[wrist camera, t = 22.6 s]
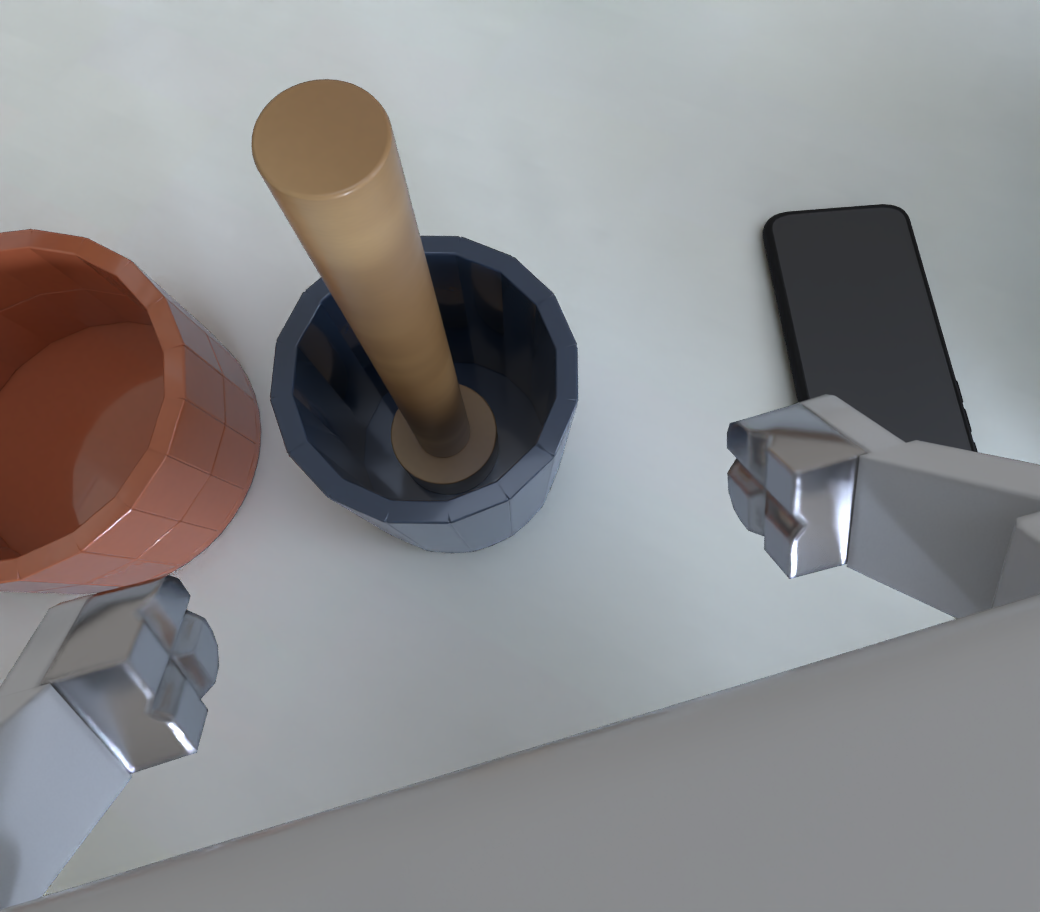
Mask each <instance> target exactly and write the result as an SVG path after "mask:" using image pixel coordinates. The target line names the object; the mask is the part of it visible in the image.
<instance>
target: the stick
mask: <svg viewBox="0 0 1040 912" xmlns="http://www.w3.org/2000/svg"><path fill="white" fill-rule="evenodd" d="M252 155H253V159H254V162H255V165H256V167H257V169H258V171H259V173H260V174H261V176H262V178H263V179H264V181H265V183H266V184H267V186H268V188H269V190H270V191H271V193H272V195H273V196H274V198H275V200H276V201H277V203H278V205H279V206H280V208H281V210H282V212H283V213H284V215H285V217H286V218H287V220H288V222H289V223H290V225H291V227H292V228H293V230H294V232H295V234H296V235H297V237H298V239H299V240H300V242H301V244H302V245H303V247H304V249H305V251H306V252H307V254H308V256H309V257H310V259H311V261H312V262H313V264H314V266H315V267H316V269H317V271H318V273H319V274H320V276H321V278H322V279H323V281H324V283H325V284H326V286H327V288H328V289H329V291H330V293H331V295H332V296H333V298H334V300H335V301H336V303H337V305H338V306H339V308H340V310H341V311H342V313H343V315H344V317H345V318H346V320H347V322H348V323H349V325H350V327H351V328H352V330H353V332H354V334H355V335H356V337H357V339H358V340H359V342H360V344H361V345H362V347H363V349H364V350H365V352H366V354H367V356H368V357H369V359H370V361H371V362H372V364H373V366H374V367H375V369H376V371H377V372H378V374H379V376H380V378H381V379H382V381H383V383H384V384H385V386H386V388H387V389H388V391H389V393H390V395H391V396H392V398H393V400H394V401H395V403H396V405H397V406H398V410H397V412H396V414H395V416H394V419H393V422H392V427H391V443H392V447H393V451H394V453H395V456H396V458H397V459H398V461H399V463H400V464H401V465H402V467H403V468H404V469H405V470H406V471H407V473H408V474H409V475H410V476H411V478H412V479H413V480H414V481H415V482H416V483H417V484H419V485H420V486H422V487H423V488H425V489H427V490H429V491H432V492H435V493H440V494H457V493H462V492H465V491H468V490H470V489H472V488H474V487H475V486H477V485H478V484H480V483H481V482H482V481H483V480H484V479H485V478H486V477H487V476H488V475H489V473H490V472H491V470H492V468H493V467H494V465H495V462H496V459H497V455H498V447H499V446H498V434H497V426H496V420H495V417H494V414H493V412H492V410H491V408H490V406H489V405H488V403H487V402H486V401H485V400H484V399H483V397H482V396H480V395H479V394H478V393H477V392H475V391H474V390H472V389H470V388H468V387H466V386H464V385H460V384H459V383H458V379H457V375H456V372H455V368H454V364H453V360H452V356H451V352H450V349H449V345H448V341H447V337H446V333H445V329H444V326H443V322H442V318H441V314H440V310H439V306H438V303H437V299H436V295H435V291H434V287H433V283H432V279H431V276H430V272H429V268H428V264H427V260H426V256H425V253H424V249H423V245H422V241H421V237H420V233H419V230H418V226H417V222H416V218H415V214H414V210H413V207H412V203H411V199H410V195H409V191H408V187H407V184H406V180H405V176H404V172H403V168H402V164H401V161H400V157H399V153H398V149H397V145H396V141H395V138H394V134H393V130H392V126H391V123H390V120H389V117H388V115H387V113H386V111H385V110H384V108H383V107H382V105H381V104H380V103H379V102H378V101H377V100H376V99H375V98H374V97H373V96H372V95H371V94H369V93H368V92H367V91H365V90H364V89H362V88H360V87H358V86H356V85H354V84H351V83H348V82H344V81H339V80H329V79H323V80H313V81H307V82H304V83H300V84H297V85H295V86H292V87H290V88H288V89H286V90H285V91H283V92H281V93H280V94H278V95H277V96H276V97H275V98H273V99H272V100H271V101H270V102H269V103H268V104H267V105H266V106H265V108H264V109H263V110H262V112H261V113H260V115H259V117H258V119H257V121H256V123H255V126H254V129H253V134H252Z"/></svg>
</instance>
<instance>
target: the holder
mask: <svg viewBox="0 0 1040 912" xmlns="http://www.w3.org/2000/svg"><path fill="white" fill-rule="evenodd" d="M420 237H421V241H422V245H423V249H424V253H425V256H426V260H427V264H428V268H429V272H430V276H431V279H432V283H433V287H434V291H435V295H436V299H437V303H438V306H439V310H440V314H441V318H442V322H443V326H444V329H445V333H446V337H447V341H448V345H449V349H450V352H451V356H452V360H453V364H454V368H455V372H456V375H457V379H458V383H459V384H460V385H464V386H466V387H468V388H470V389H472V390H474V391H475V392H477V393H478V394H479V395H480V396H482V397H483V399H484V400H485V401H486V402H487V403H488V405H489V406H490V408H491V410H492V412H493V414H494V417H495V420H496V426H497V434H498V446H499V447H498V455H497V459H496V462H495V465H494V467H493V468H492V470H491V472H490V473H489V475H488V476H487V477H486V478H485V479H484V480H483V481H482V482H481V483H480V484H478V485H477V486H475V487H474V488H472V489H470V490H468V491H465V492H462V493H457V494H440V493H435V492H432V491H429V490H427V489H425V488H423V487H422V486H420V485H419V484H417V483H416V482H415V481H414V480H413V479H412V478H411V476H410V475H409V474H408V473H407V471H406V470H405V469H404V468H403V467H402V465H401V464H400V463H399V461H398V459H397V458H396V456H395V453H394V451H393V447H392V443H391V427H392V422H393V419H394V416H395V414H396V412H397V410H398V406H397V405H396V403H395V401H394V400H393V398H392V396H391V395H390V393H389V391H388V389H387V388H386V386H385V384H384V383H383V381H382V379H381V378H380V376H379V374H378V372H377V371H376V369H375V367H374V366H373V364H372V362H371V361H370V359H369V357H368V356H367V354H366V352H365V350H364V349H363V347H362V345H361V344H360V342H359V340H358V339H357V337H356V335H355V334H354V332H353V330H352V328H351V327H350V325H349V323H348V322H347V320H346V318H345V317H344V315H343V313H342V311H341V310H340V308H339V306H338V305H337V303H336V301H335V300H334V298H333V296H332V295H331V293H330V291H329V289H328V288H327V286H326V284H325V283H324V281H323V279H322V278H320V279H319V280H317V281H316V282H315V283H314V284H312V285H311V286H310V287H309V288H308V289H306V291H305V292H303V293H302V295H301V297H300V299H299V301H298V302H297V304H296V306H295V308H294V310H293V311H292V313H291V315H290V317H289V319H288V320H287V322H286V324H285V326H284V328H283V329H282V331H281V333H280V335H279V337H278V338H277V342H276V347H275V357H274V366H273V375H272V384H271V393H270V398H271V399H270V401H271V404H272V407H273V410H274V413H275V417H276V420H277V423H278V426H279V429H280V432H281V435H282V438H283V441H284V444H285V447H286V450H287V453H288V454H289V456H290V457H291V458H292V459H293V460H294V462H295V463H296V464H297V465H298V466H299V467H300V468H301V469H302V470H303V471H304V472H305V474H306V475H307V476H308V477H309V478H310V479H311V480H312V481H313V482H314V483H315V484H316V486H317V487H318V488H319V489H320V490H321V491H322V492H323V493H324V494H325V495H326V496H327V497H328V498H330V499H331V500H332V501H334V502H336V503H337V504H339V505H341V506H342V507H344V508H346V509H348V510H349V511H351V512H353V513H354V514H356V515H358V516H359V517H361V518H363V519H364V520H366V521H368V522H370V523H371V524H373V525H375V526H376V527H378V528H380V529H381V530H383V531H385V532H386V533H388V534H390V535H392V536H394V537H396V538H399V539H401V540H403V541H405V542H408V543H410V544H411V545H414V546H417V547H419V548H421V549H424V550H426V551H430V552H443V553H464V552H474V551H476V550H481V549H484V548H487V547H490V546H493V545H495V544H497V543H499V542H501V541H503V540H505V539H507V538H509V537H511V536H513V535H514V534H515V533H516V532H518V531H519V530H520V529H521V528H522V527H523V526H525V525H526V524H527V523H528V522H529V521H530V520H531V518H532V517H533V516H534V515H535V514H536V513H537V512H538V511H539V510H540V509H541V508H542V506H543V505H544V503H545V500H546V498H547V495H548V493H549V491H550V489H551V486H552V484H553V481H554V479H555V477H556V474H557V472H558V469H559V466H560V463H561V459H562V456H563V452H564V449H565V445H566V442H567V439H568V435H569V432H570V428H571V425H572V421H573V418H574V415H575V411H576V408H577V402H578V348H577V343H576V341H575V339H574V336H573V334H572V332H571V330H570V328H569V325H568V323H567V321H566V319H565V317H564V314H563V312H562V310H561V308H560V305H559V303H558V301H557V299H556V297H555V295H554V294H553V293H552V292H551V291H550V290H549V289H548V288H547V287H546V286H545V285H544V284H543V283H542V282H541V281H540V280H538V279H537V278H536V277H535V276H534V275H533V274H532V273H531V272H530V271H529V270H528V269H527V268H525V267H524V266H523V265H522V264H521V263H520V262H519V261H518V260H517V259H516V258H515V257H512V256H511V255H508V254H505V253H503V252H500V251H498V250H495V249H492V248H490V247H487V246H485V245H482V244H480V243H477V242H474V241H472V240H469V239H467V238H464V237H461V238H460V237H459V236H420Z"/></svg>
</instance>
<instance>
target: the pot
mask: <svg viewBox="0 0 1040 912" xmlns="http://www.w3.org/2000/svg"><path fill="white" fill-rule="evenodd" d="M260 436H261V426H260V416H259V409H258V405H257V401H256V397H255V394H254V391H253V389H252V386H251V384H250V381H249V379H248V377H247V375H246V374H245V372H244V370H243V369H242V367H241V365H240V364H239V363H238V361H237V360H236V359H235V358H234V356H233V355H232V354H231V353H230V351H229V350H227V349H226V348H225V347H224V346H223V345H222V344H221V343H220V342H219V341H218V339H217V338H216V337H215V336H214V335H213V334H212V333H211V332H210V331H209V330H208V329H207V328H205V327H204V326H203V325H202V324H201V323H200V322H199V321H198V320H197V319H195V318H194V317H193V316H192V315H191V314H190V313H189V312H188V311H187V310H186V309H184V308H183V307H182V306H181V305H180V304H179V303H178V302H177V301H176V300H174V299H173V298H172V297H171V296H170V295H169V294H168V293H167V292H166V291H164V290H163V289H162V288H161V287H160V286H159V285H158V284H157V283H156V282H155V281H153V280H152V279H151V278H150V277H149V276H148V275H147V274H146V273H145V272H143V271H142V270H141V269H140V268H139V267H138V266H137V265H136V264H135V263H134V262H132V261H131V260H129V259H127V258H125V257H124V256H122V255H120V254H118V253H116V252H114V251H112V250H110V249H108V248H106V247H104V246H102V245H100V244H98V243H96V242H94V241H92V240H90V239H88V238H85V237H79V236H73V235H67V234H60V233H54V232H48V231H41V230H35V229H34V230H33V229H27V230H19V231H11V232H3V233H0V592H29V593H57V594H90V593H99V592H103V591H107V590H111V589H115V588H119V587H123V586H127V585H131V584H135V583H139V582H143V581H147V580H151V579H155V578H159V577H163V576H166V575H168V574H170V573H172V572H173V571H175V570H177V569H178V568H180V567H182V566H183V565H185V564H186V563H188V562H189V561H191V560H192V559H193V558H195V557H196V556H197V555H198V554H200V553H201V552H202V551H204V550H205V549H206V548H207V547H208V546H209V545H210V544H211V543H212V542H213V541H214V540H215V539H216V538H217V537H218V536H219V535H220V534H221V532H222V531H223V530H224V529H225V527H226V526H227V525H228V524H229V522H230V521H231V520H232V519H233V517H234V515H235V514H236V512H237V511H238V509H239V507H240V506H241V504H242V502H243V500H244V498H245V496H246V494H247V492H248V490H249V487H250V485H251V483H252V479H253V476H254V473H255V470H256V467H257V462H258V456H259V450H260Z"/></svg>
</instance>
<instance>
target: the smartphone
mask: <svg viewBox="0 0 1040 912" xmlns="http://www.w3.org/2000/svg"><path fill="white" fill-rule="evenodd" d="M763 239H764V244H765V249H766V253H767V258H768V263H769V267H770V272H771V277H772V281H773V286H774V290H775V295H776V300H777V304H778V309H779V314H780V318H781V323H782V328H783V332H784V337H785V342H786V346H787V351H788V356H789V360H790V365H791V369H792V374H793V379H794V383H795V388H796V393H797V397H798V402H802V401H805V400H808V399H812V398H815V397H818V396H821V395H825V394H827V395H834V396H836V397H838V398H839V399H841V400H842V401H844V402H845V403H847V404H848V405H850V406H851V407H853V408H854V409H856V410H857V411H859V412H860V413H862V414H863V415H865V416H866V417H868V418H869V419H871V420H872V421H874V422H875V423H877V424H878V425H880V426H881V427H883V428H884V429H886V430H887V431H889V432H890V433H892V434H893V435H895V436H896V437H898V438H899V439H901V440H902V441H904V442H905V443H907V442H911V441H915V440H918V441H923V442H928V443H933V444H938V445H943V446H948V447H953V448H958V449H963V450H968V451H973V452H977V448H976V445H975V442H973V438H972V435H971V427H970V424H969V420H968V417H967V413H966V410H965V409H964V407H963V403H962V402H963V399H962V396H961V392H960V388H959V385H958V381H956V379H955V375H954V372H953V368H952V365H951V361H950V358H949V354H948V351H947V347H946V344H945V340H944V337H943V333H942V330H941V326H940V323H939V319H938V316H937V312H936V309H935V305H934V302H933V298H932V295H931V292H930V288H929V285H928V281H927V278H926V274H925V271H924V267H923V264H922V260H921V257H920V253H919V250H918V246H917V243H916V239H915V236H914V232H913V229H912V225H911V222H910V219H909V216H908V215H907V213H906V212H905V211H904V210H903V209H901V208H900V207H897V206H894V205H887V204H880V205H867V206H854V207H841V208H828V209H816V210H803V211H790V212H784V213H780V214H777V215H774V216H773V217H771V218H770V219H769V220H768V221H767V222H766V224H765V226H764V229H763Z"/></svg>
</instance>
